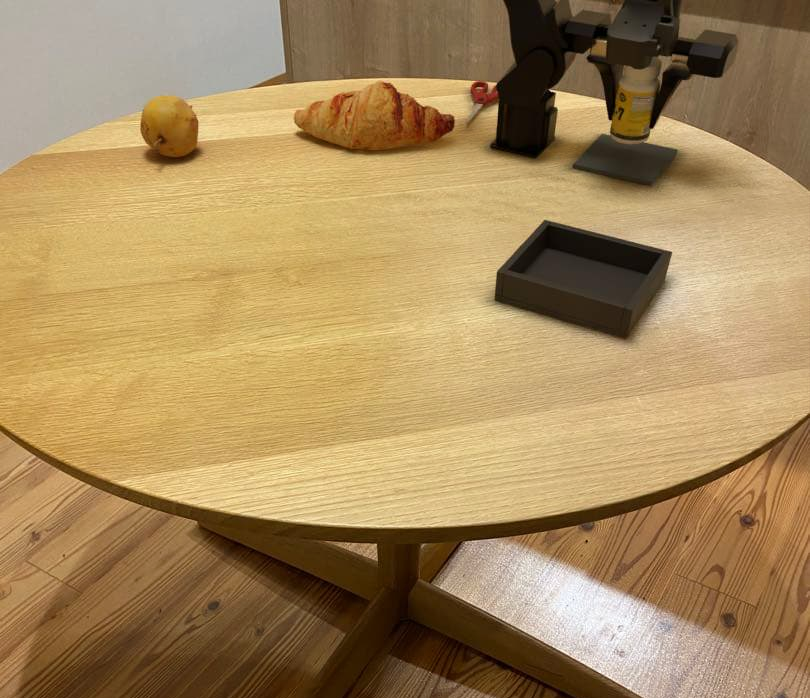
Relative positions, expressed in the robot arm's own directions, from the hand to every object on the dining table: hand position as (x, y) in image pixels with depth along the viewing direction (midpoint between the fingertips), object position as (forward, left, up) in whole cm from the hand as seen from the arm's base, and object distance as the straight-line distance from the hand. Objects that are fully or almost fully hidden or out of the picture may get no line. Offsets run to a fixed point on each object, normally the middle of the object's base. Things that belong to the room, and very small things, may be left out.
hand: (631, 123), depth 95 cm
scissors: (-23, +6, -4) cm, 24 cm away
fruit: (-51, -25, -5) cm, 57 cm away
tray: (+6, -30, -4) cm, 31 cm away
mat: (0, 0, -4) cm, 4 cm away
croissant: (-31, -9, -5) cm, 33 cm away
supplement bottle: (0, 0, -2) cm, 2 cm away
